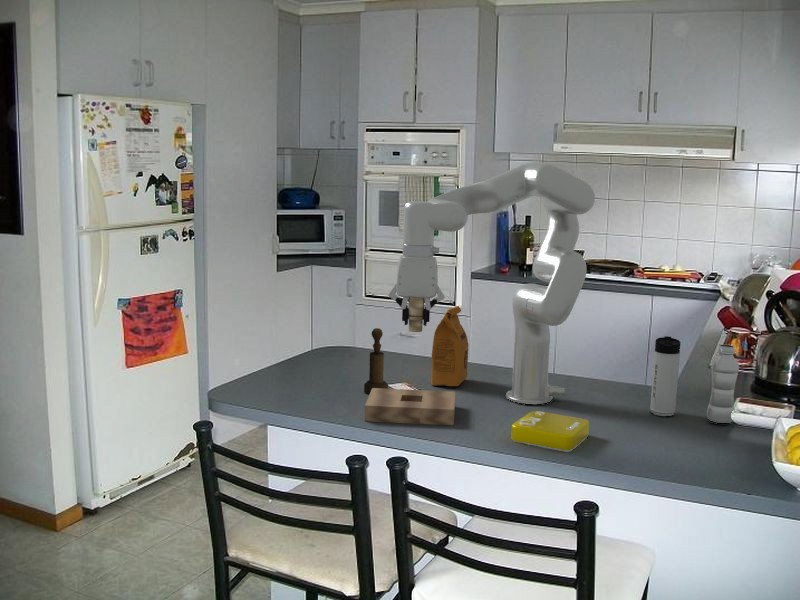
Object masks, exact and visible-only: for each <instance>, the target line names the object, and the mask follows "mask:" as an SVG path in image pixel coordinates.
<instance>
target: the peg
mask: <svg viewBox="0 0 800 600" xmlns="http://www.w3.org/2000/svg"><path fill="white" fill-rule="evenodd" d="M407 306H408V332H412V333H422V332H423V326H424V325H423V322H424V309H425V299H424V298H420V297H408V302H407Z"/></svg>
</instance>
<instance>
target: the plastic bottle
mask: <svg viewBox="0 0 800 600" xmlns="http://www.w3.org/2000/svg"><path fill="white" fill-rule="evenodd" d="M717 351H718V352H717V353H718V355H717V356H716V358H715V359H714V360H713V361H712V363H711V369H710V370H711V393H710V398H709V404H708V406H707V408H706V409H707V410H706V417H707V419H709V420H710V421H713V422H718V423H730V424H731V423H732V422H733V421H732V419H731V413H732V411H733V410H734V411H735V406H734V405H735V404H734V401H735V399H734V398H735V397H734V396H735V388H736V382H737V379H738V374H739V371H740V366H739V363H738V361H737V359H736V358H735V357H734V355H735V346H734V345H732V344H719V346H718V350H717ZM709 420H708V421H709ZM710 421H709V422H710ZM713 422H712V423H713Z"/></svg>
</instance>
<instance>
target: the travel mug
mask: <svg viewBox="0 0 800 600" xmlns="http://www.w3.org/2000/svg"><path fill="white" fill-rule="evenodd" d="M654 343H655V345H654V347H655V348H654V354H653V367H652V368H653V369H652V379H651V380H652V382H651V392H650V393H651V395H650V405H649V406H650V407H649V411H650V410H651V411H653V412H655V413H659V414H672V413H675V414H676V404H677V396H678V395H677V393H678V384H679V383H678V380H679V369H680V368H679V367H680V357H681V356H680V354H681V349H680V348H681V341H680V340H679V339H677V338H674V337H673V338H672V336H667V335H665V336H664V337H663V336H662V337H658V338H656V339H655V342H654Z"/></svg>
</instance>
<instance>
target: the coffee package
mask: <svg viewBox="0 0 800 600" xmlns="http://www.w3.org/2000/svg"><path fill="white" fill-rule="evenodd" d="M461 312H462V309H461V307H460V306H459V305H456V306H454V307H451V308H449V309H447V310H446V312H445V314H444V316H443V317H442V319H441V320H440V321H439V324H438V325H436V329H435V331H434V334H433V340H432V348H431V378H430V379H431V380H430V381H431V382H430V385H431V386H433V387H434V386H435V387H436V386H438V387H439V386H441V387H442V386H443V387H444V386H445V387H458V386H460V385H461V384H462V383H463V382H464V381H465V380H466V378H468V364H469V341H468V335H467V333H466V331H465V329H464V327H463V325H462V324H461V322H460V318H459V316H458V314H459V313H461Z"/></svg>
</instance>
